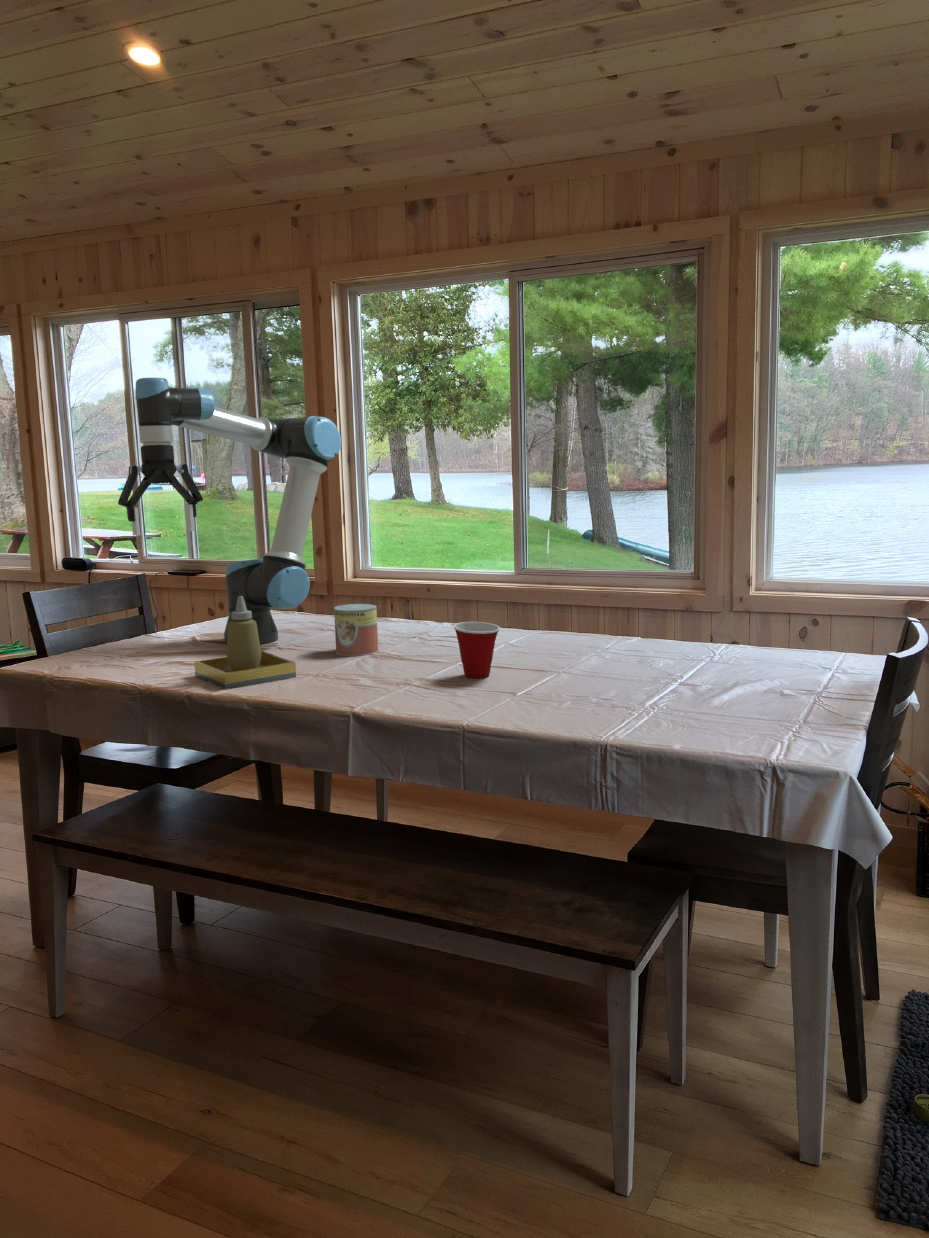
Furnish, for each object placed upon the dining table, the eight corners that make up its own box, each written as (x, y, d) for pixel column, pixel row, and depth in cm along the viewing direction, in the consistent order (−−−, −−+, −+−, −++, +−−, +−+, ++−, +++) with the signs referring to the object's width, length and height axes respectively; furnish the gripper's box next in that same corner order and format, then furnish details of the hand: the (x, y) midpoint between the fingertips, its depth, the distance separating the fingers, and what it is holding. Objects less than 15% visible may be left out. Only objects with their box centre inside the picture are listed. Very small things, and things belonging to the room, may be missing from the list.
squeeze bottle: (253, 675, 215) (249, 599, 212) (221, 674, 217) (216, 598, 214) (268, 668, 223) (263, 594, 220) (236, 667, 225) (232, 593, 222)
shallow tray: (263, 665, 232) (262, 651, 232) (296, 677, 219) (295, 662, 218) (195, 676, 222) (194, 661, 221) (225, 689, 208) (224, 673, 207)
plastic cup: (485, 683, 208) (484, 630, 206) (445, 678, 214) (444, 626, 212) (509, 673, 217) (508, 622, 215) (470, 668, 223) (469, 619, 221)
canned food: (327, 654, 244) (325, 609, 242) (348, 646, 254) (346, 603, 252) (366, 657, 239) (364, 611, 237) (385, 648, 250) (384, 604, 248)
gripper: (199, 444, 233) (205, 528, 237) (98, 445, 217) (107, 536, 221) (212, 443, 228) (218, 530, 231) (110, 444, 212) (118, 537, 216)
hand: (164, 533), depth 226 cm, fingers open, 13 cm apart
